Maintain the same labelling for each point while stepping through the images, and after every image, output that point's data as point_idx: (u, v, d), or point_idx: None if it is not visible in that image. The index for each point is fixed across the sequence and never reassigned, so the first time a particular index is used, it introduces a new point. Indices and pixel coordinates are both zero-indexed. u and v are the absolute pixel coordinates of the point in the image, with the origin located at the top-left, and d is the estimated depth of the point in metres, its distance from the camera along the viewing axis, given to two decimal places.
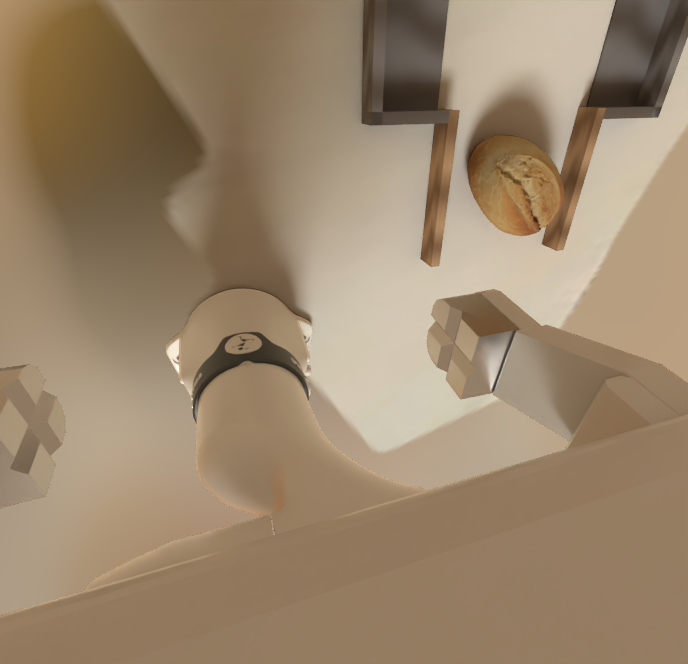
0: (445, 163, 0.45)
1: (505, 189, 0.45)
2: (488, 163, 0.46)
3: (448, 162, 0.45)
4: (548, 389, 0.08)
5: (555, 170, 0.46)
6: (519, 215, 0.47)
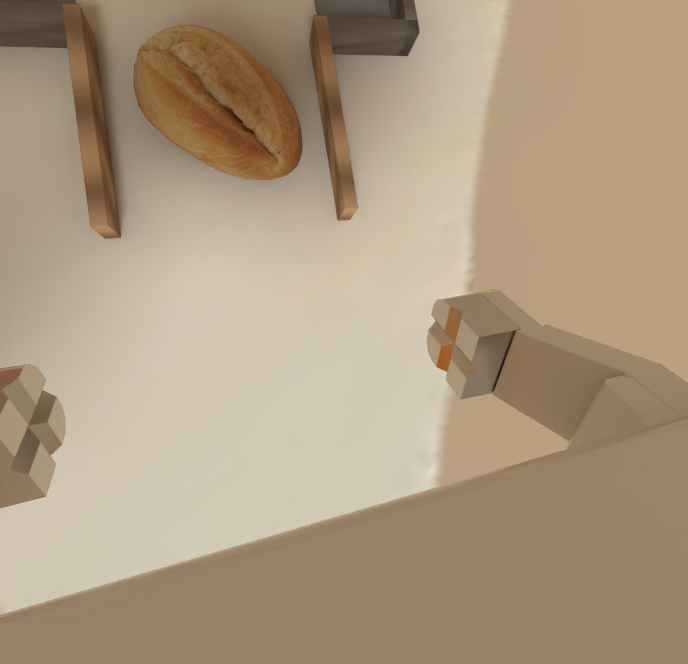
0: (73, 68, 0.31)
1: (146, 62, 0.28)
2: None
3: (80, 66, 0.31)
4: (548, 389, 0.08)
5: (237, 45, 0.30)
6: (184, 96, 0.28)
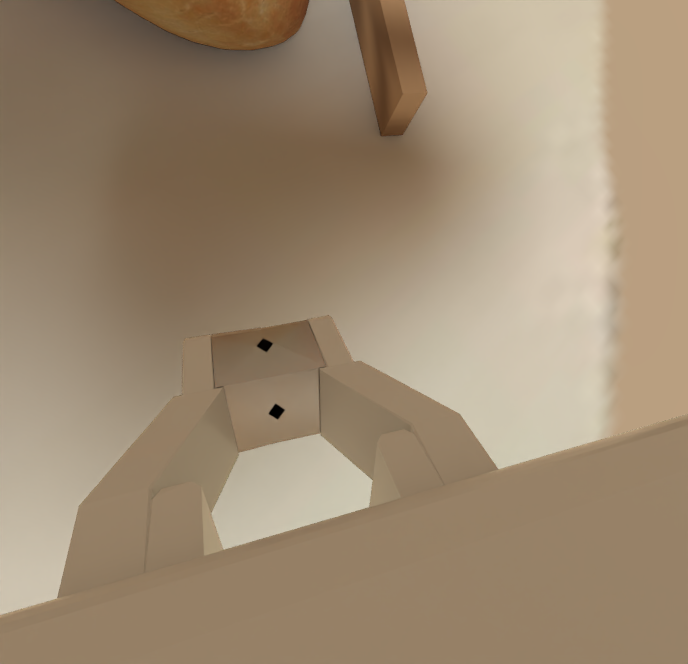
0: None
1: None
2: None
3: None
4: (358, 435, 0.07)
5: None
6: None
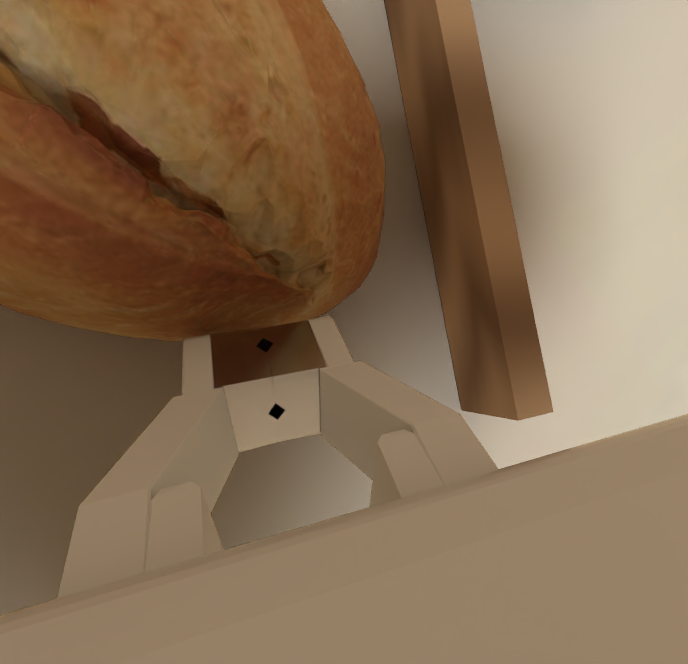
0: None
1: None
2: None
3: None
4: (358, 435, 0.07)
5: None
6: None
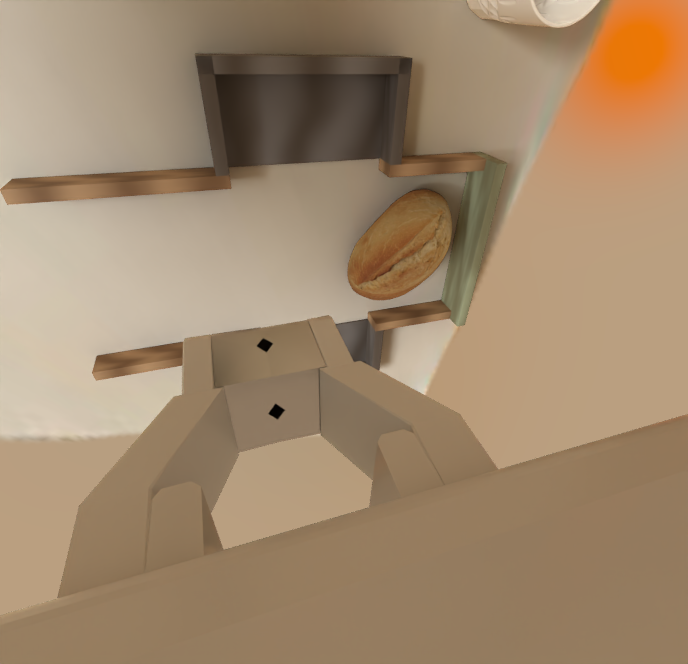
0: (168, 181, 0.35)
1: (430, 221, 0.41)
2: (441, 203, 0.43)
3: (171, 187, 0.35)
4: (358, 435, 0.07)
5: (429, 275, 0.45)
6: (403, 245, 0.41)
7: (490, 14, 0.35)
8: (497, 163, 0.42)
